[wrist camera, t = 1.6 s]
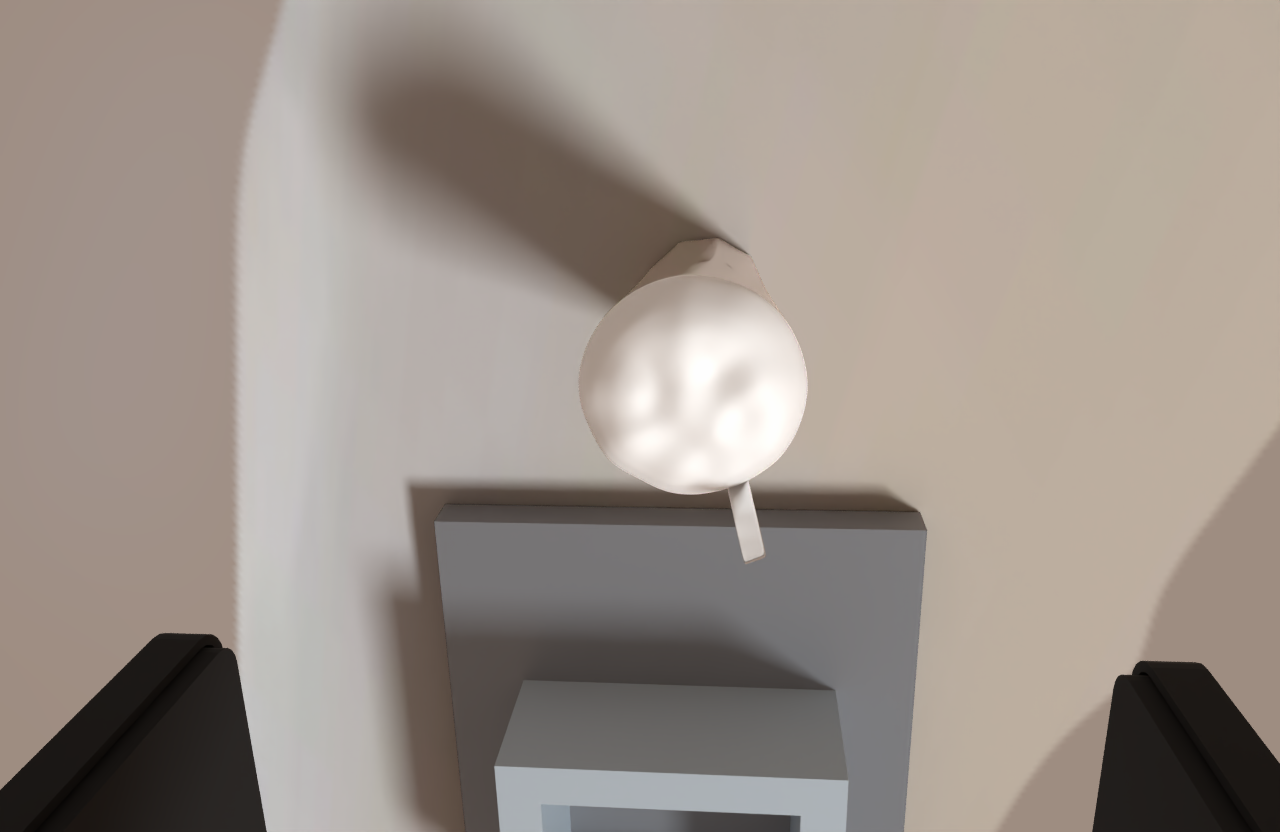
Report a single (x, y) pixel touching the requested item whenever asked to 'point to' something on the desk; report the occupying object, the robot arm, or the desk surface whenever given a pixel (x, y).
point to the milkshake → (696, 380)
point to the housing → (681, 668)
